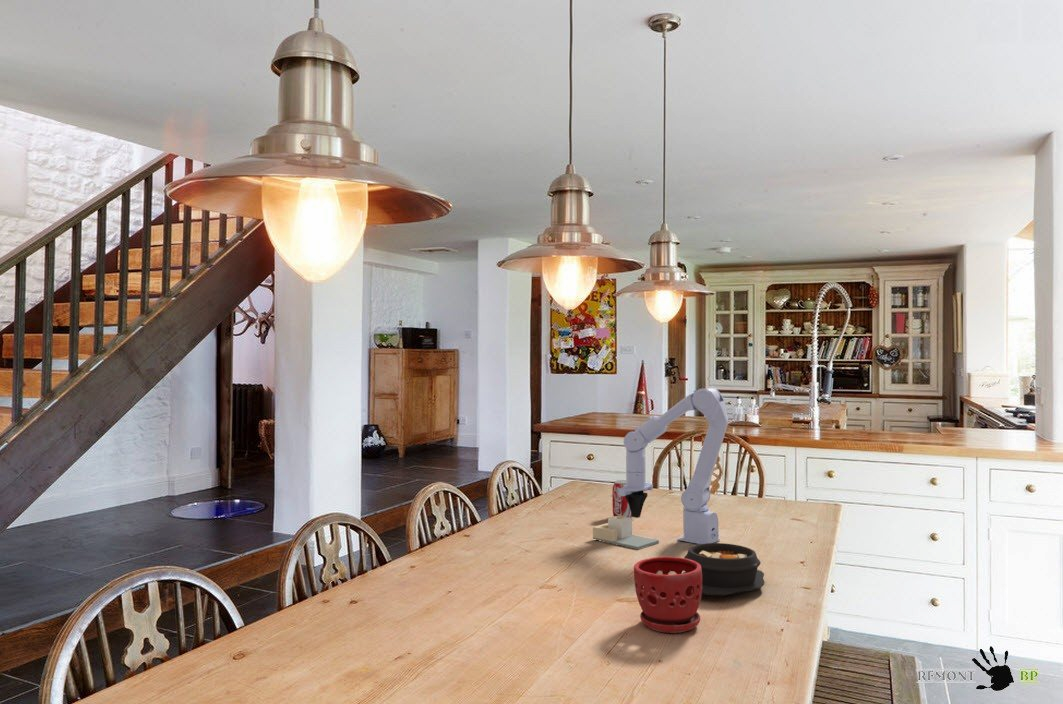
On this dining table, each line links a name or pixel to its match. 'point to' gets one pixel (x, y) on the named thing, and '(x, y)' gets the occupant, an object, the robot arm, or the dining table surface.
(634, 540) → the board
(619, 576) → the dining table surface
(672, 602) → the plant pot
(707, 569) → the casserole
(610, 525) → the cabinet block
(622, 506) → the soda can
